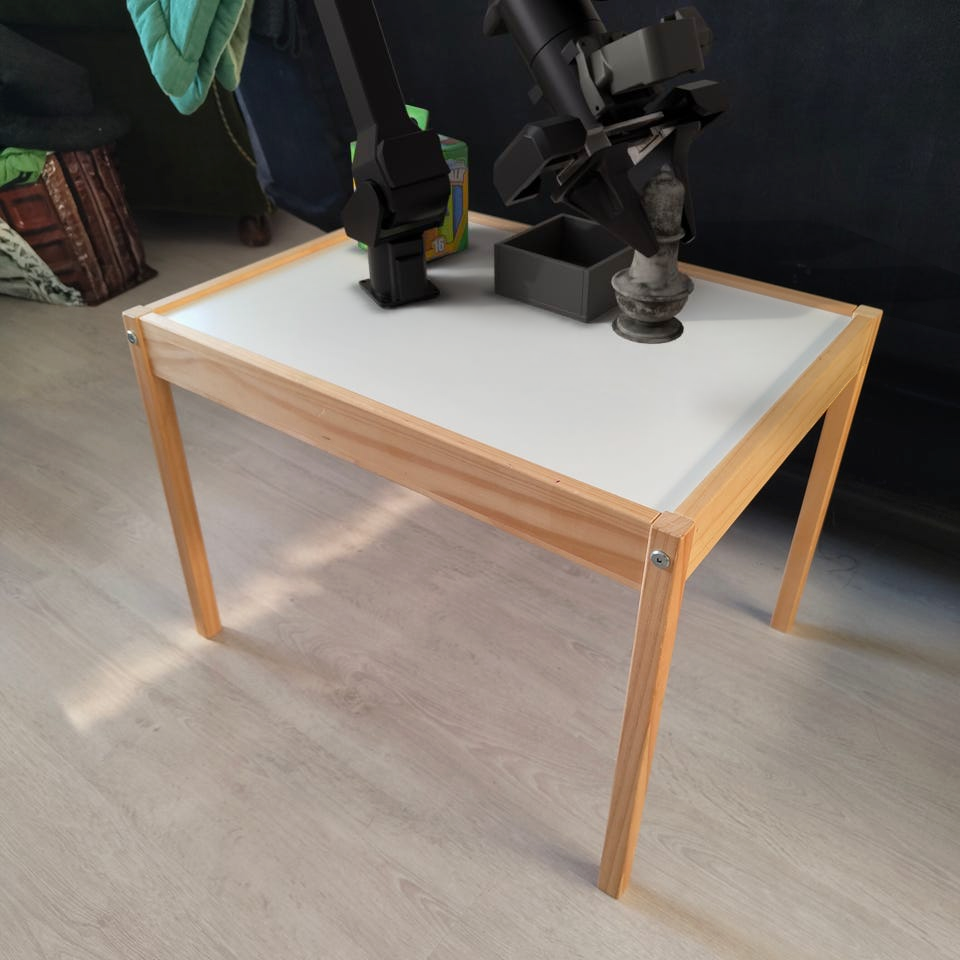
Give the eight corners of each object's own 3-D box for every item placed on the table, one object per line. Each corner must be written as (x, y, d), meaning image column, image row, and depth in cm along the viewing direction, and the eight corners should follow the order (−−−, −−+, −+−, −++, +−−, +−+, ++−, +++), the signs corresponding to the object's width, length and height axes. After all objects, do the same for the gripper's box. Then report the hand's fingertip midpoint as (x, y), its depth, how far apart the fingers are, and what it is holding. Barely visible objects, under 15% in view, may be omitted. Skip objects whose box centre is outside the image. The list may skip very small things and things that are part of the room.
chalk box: (356, 248, 100) (342, 109, 92) (419, 228, 105) (412, 94, 97) (408, 271, 95) (398, 125, 86) (472, 248, 100) (469, 108, 91)
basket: (494, 293, 90) (493, 243, 87) (560, 259, 97) (561, 212, 94) (586, 323, 84) (589, 271, 81) (649, 285, 91) (654, 236, 88)
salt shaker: (692, 347, 64) (717, 178, 57) (609, 344, 64) (623, 176, 57) (683, 311, 69) (705, 150, 61) (606, 308, 69) (619, 149, 62)
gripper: (526, -24, 50) (657, 221, 50) (730, -51, 60) (840, 154, 60) (442, 99, 60) (552, 305, 59) (630, 59, 69) (724, 236, 69)
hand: (672, 247), depth 62 cm, fingers closed on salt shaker, 3 cm apart
